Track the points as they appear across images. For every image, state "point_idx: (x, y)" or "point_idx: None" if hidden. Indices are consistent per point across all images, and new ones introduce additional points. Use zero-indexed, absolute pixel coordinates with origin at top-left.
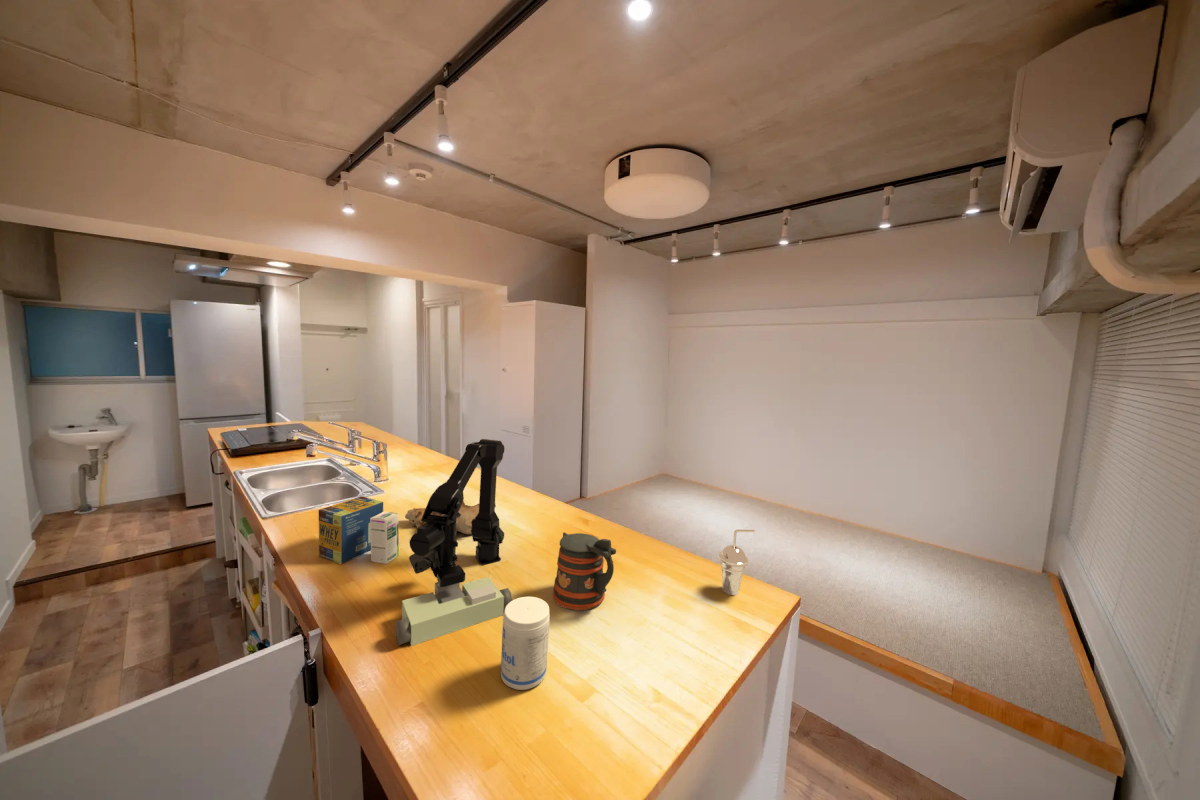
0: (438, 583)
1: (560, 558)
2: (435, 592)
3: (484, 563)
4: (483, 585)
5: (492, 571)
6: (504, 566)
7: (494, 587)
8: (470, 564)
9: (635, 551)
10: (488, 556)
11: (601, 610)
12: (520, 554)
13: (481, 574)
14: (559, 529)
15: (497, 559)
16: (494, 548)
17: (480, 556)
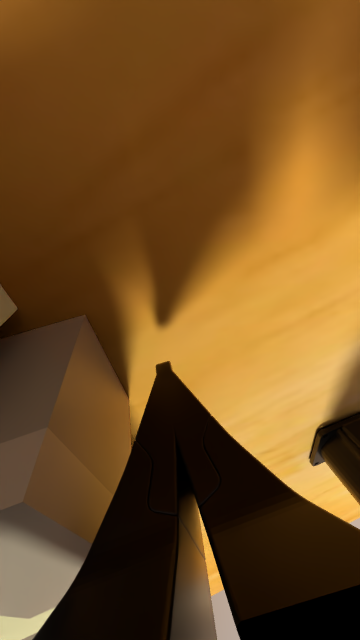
0: (5, 532)
1: None
2: (31, 395)
3: (319, 439)
4: (54, 608)
5: (268, 456)
6: (275, 472)
7: (30, 631)
8: (345, 400)
9: (212, 585)
10: (337, 464)
11: None
12: (306, 484)
13: (268, 437)
14: (344, 507)
15: (315, 460)
16: (357, 501)
17: (355, 447)
